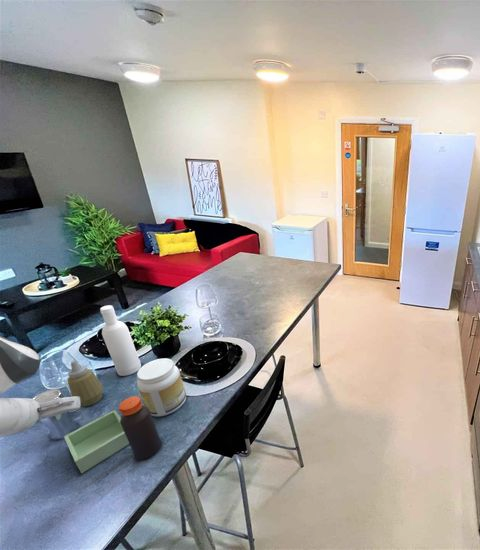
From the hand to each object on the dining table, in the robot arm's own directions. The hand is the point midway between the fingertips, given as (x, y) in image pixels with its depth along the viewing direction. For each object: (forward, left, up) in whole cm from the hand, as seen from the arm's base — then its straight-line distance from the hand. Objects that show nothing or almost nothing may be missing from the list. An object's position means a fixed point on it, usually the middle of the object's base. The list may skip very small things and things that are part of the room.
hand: (44, 414), depth 86 cm
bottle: (+25, +21, -12) cm, 34 cm away
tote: (+8, -11, -12) cm, 18 cm away
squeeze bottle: (+11, +13, -12) cm, 21 cm away
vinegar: (+16, -24, -12) cm, 31 cm away
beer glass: (+2, +4, -12) cm, 13 cm away
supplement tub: (+27, -10, -12) cm, 31 cm away
